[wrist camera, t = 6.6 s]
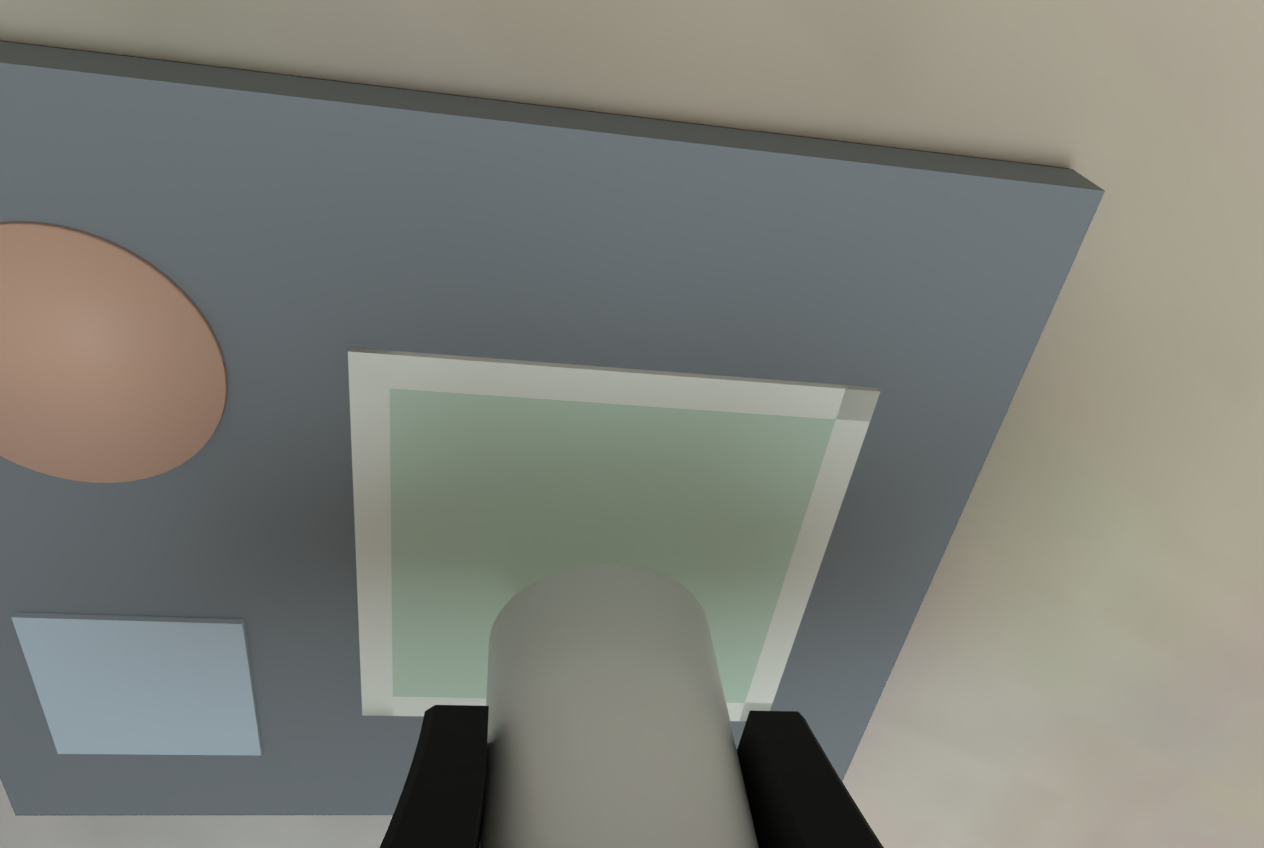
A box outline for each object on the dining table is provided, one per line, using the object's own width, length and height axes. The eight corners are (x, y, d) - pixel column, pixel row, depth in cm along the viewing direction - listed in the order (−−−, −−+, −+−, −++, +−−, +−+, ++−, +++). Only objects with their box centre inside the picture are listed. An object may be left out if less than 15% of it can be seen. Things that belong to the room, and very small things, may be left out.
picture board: (817, 779, 19) (828, 818, 18) (36, 775, 16) (12, 820, 16) (1072, 169, 12) (1109, 194, 11) (-247, 11, 9) (-315, 29, 9)
